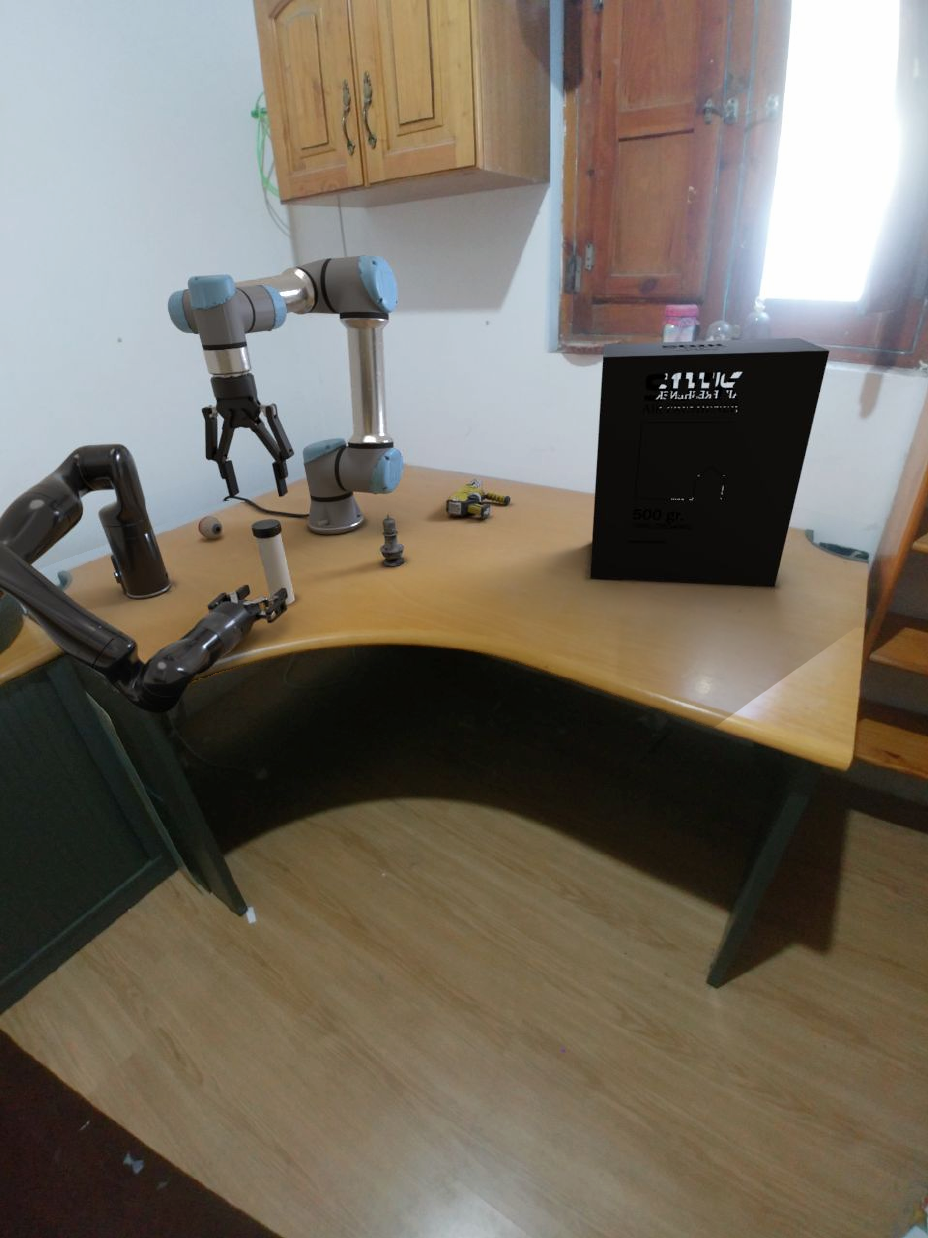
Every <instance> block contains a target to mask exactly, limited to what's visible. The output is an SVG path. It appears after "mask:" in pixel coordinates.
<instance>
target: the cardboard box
mask: <svg viewBox="0 0 928 1238" xmlns="http://www.w3.org/2000/svg"><path fill="white" fill-rule="evenodd" d="M829 356H830V350H829V349H827V348H824V347H822V346H819V345H817V344H815V343H813V342H809V341H808V340H804V339H802V338H799V337H787V338H786V337H785V338H756V339H755V338H753V339H751V338H750V339H724V340H691V341H689V340H688V341H661V342H631V343H604V344H603V353H602V368H601V385H600V386H601V387H600V399H599V400H600V402H599V416H598V417H599V419H598V434H597V436H598V437H597V452H596V467H595V468H596V470H595V487H594V502H593V503H594V504H593V521H592V535H591V536H592V538H591V554H590V569H589V571H590V572H589V578H590V579H600V580H625V581H647V582H665V583H666V582H667V583H668V582H669V583H688V584H689V583H691V584H692V583H693V584H714V585H735V586H755V587H756V586H757V587H759V586H760V587H776V583H777V579H778V575H779V572H780V571H779V570H780V566H781V562H782V557H783V553H784V549H785V545H786V541H787V536H788V532H789V528H790V523H791V519H792V514H793V510H794V506H795V502H796V497H797V493H798V489H799V485H800V480H801V475H802V473H803V472H802V471H803V467H804V464H805V457H806V454H807V449H808V446H809V441H810V437H811V433H812V428H813V425H814V419H815V415H816V411H817V407H818V403H819V398H820V395H821V390H822V385H823V381H824V376H825V373H826V368H827V363H828V360H829ZM735 373H740V374H739V376H738V377H733V375H734V374H735ZM676 374H680V378H678V381H677V387H674V386H675V385H674V384H675V378H673V377H674V375H676ZM687 374H692V378H691V384H694V385H693V387H689V385H690V378H687ZM701 374H703V378H700V376H701ZM718 374H719V378H718ZM722 377H723V382H722ZM717 379H718V383H717ZM722 383H723V384H727V383H729V384H731V383H733V384H732V387H731V386H730V387H726V386H725V387H724V386H723V385H722ZM703 384H708V387H702V385H703ZM662 386H665V387H664V388H663V387H662ZM661 387H662V388H661Z"/></svg>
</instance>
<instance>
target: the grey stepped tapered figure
mask: <svg viewBox="0 0 928 1238" xmlns="http://www.w3.org/2000/svg"><path fill="white" fill-rule="evenodd" d="M382 528H383V529H382V530H383V532H382V536H383V538H384V544H383V545H381V546H380V547H379V551H380V553H381V555H382V557H383V558H384V559H383V560H382V564H383V565H384V566H386V567H396V566H400V565H402V564H404V562H405V558H404V557H402V555H403V553H404V550H405V546H404V544H402V543H400V542H399V541H398V534H399V532H398V531H397V527H396V521H395V519H394V518H393V517H390V515H389V514H386V517H385V518H383V520H382Z"/></svg>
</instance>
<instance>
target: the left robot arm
mask: <svg viewBox="0 0 928 1238" xmlns="http://www.w3.org/2000/svg"><path fill="white" fill-rule="evenodd" d="M98 491H114V494H115V497H116V499H115V501H112V502H111V503H108V504H106V505H104V506H103V507H101V508H100V509H99V510H98V513H97V514H98V518H99V521H100V524H101V527H102V529H103V532H104V535H105V537H106V540H107V542H108V545H109V547H110V550H111V553H112V554H111V555H110V560H111V563H112V566H113V568H114V571H115V572H113V576H114V578H115V581H116V583H117V584H119V585H120V587H121V590H122V592H123V595H127V597H129V598H131V599H137V600H141V599H149V598H153V597H156V596H159V595H161V594H164V593H165V592H167V591H168V590H169V589H171V587H172V582H171V580H170V576H169V573H168V571H167V568H166V565H165V562H164V558H163V556H162V552H161V549H160V546H159V543H158V541H157V538H156V534H155V532H154V528H153V526H152V522H151V520H150V516H149V513H148V510H147V505H146V503H147V502H146V496H145V494H144V490H143V486H142V482H141V480H140V475H139V471H138V467H137V464H136V461H135V459H134V456H133V454H132V453H131V451H130V450H129V448H128V447H127V446H126V445H124V444H121V443H101V444H99V443H97V444H86V445H81V446H79V447H77V448H75V449H74V450H73V451H71V453H70V454H69V455H67V457H66V458H65V459H64V460H63V461H62V462H61V463H60V464H59V466H57V468H55V469H54V470H53V471H52V472H51V473H49V474H48V475H46V476H45V477H44V478H42V479H41V480H40V481H39V482H37V483H36V484H34V485H33V486H31V487H29V488H28V489H27V490H25V491H24V492H23V493H21V494H20V495H19V496H17V497H16V498H15V499H14V500H13V501H12V502H11V503H10V504H9V505H8V506H7V507H6V509H4V511H3V513H2V514H1V516H0V602H1V601H3V599H4V598H5V597H6V595H8V596H10V597H11V598H12V599H14V600H15V601H16V602H17V603H18V604H20V605H21V606H22V607H23V608H24V609H25V610H26V611H27V612H28V613H29V614H30V615H31V617H32V618H33V619H34V620H35V621H36V622H37V624H38V625H39V626H40V627H41V628H42V630H43V631H44V632H45V634H47V636H48V637H49V639H50V640H52V642H53V643H54V644H55V645H56V646H57V647H58V648H60V649H61V650H62V651H63V652H64V653H66V654H67V655H68V656H70V657H72V658H73V659H75V660H77V661H78V662H80V663H82V664H83V665H85V666H87V667H88V668H90V669H92V670H94V671H95V672H97V673H99V674H101V675H102V676H103V677H105V679H106V680H107V681H108V682H109V683H110V684H111V686H113V687H114V688H115V689H116V690H117V691H118V692H119V693H120V694H121V695H122V696H124V697H125V698H126V699H127V701H129V702H130V703H131V704H132V705H134V706H135V707H137V708H139V709H141V710H144V711H146V712H149V713H155V714H157V713H158V714H162V713H166V712H169V711H171V710H173V709H174V708H175V707H176V705H177V704H178V703H179V701H180V699H181V697H182V696H183V694H184V692H185V691H186V689H187V687H188V685H189V684H190V683H191V682H192V680H193V679H194V678H195V677H196V676H198V675H202V674H204V673H206V672H207V671H209V670H210V669H211V668H212V667H213V666H214V665H215V664H216V663H218V661H220V659H221V658H223V657H224V656H225V655H227V654H228V653H230V652H231V651H232V650H233V649H234V648H235V647H236V646H237V645H238V644H240V642H241V641H242V640H244V638H245V637H246V636H248V635H249V633H250V632H251V631H252V629H253V627H254V624H255V623H256V622H258V621H260V620H261V619H262V620H266V622H267V624H272V623H274V622H275V621H277V620H278V619H279V618H280V617H281V616H282V615H284V614H285V612H287V611H288V605H286V599H287V598H288V593H287V590H286V588H281V589H280V590H279V591H278V592H277V593H275V594H274V596H272V597H270V596H269V597H267V598H266V597H265V596H263V597H259V598H256V599H246V598H248V596H250V594H251V588H250V585H249V584H243V585H242V586H241V587H239V588H238V589H236V590H235V591H231V592H230V593H229V594H227V592H221V593H219V595H217V596H216V597H215V598H214V599H213V600H212V601H210V603H208V604H207V605H206V607H207V611H208V613H207V614H206V615H205V616H204V617H202V618H201V619H200V620H198V621H197V623H196V624H195V625H194V626H193V628H191V629H190V630H189V631H188V632H187V633H185V634H184V635H183V636H182V637H180V638H179V639H178V640H177V641H175V642H172V643H170V644H169V645H167V646H164V647H163V648H161V649H159V650H158V651H156V652H155V653H154V654H153V655H152V656H150V657H149V659H148V660H147V661H146V662H144V661H143V660H141V658H140V656H139V646H138V643H137V641H136V640H135V639H134V638H133V637H131V636H130V635H128V634H127V633H125V632H123V631H122V630H121V629H119V628H117V627H115V626H113V625H112V624H110V623H109V622H106V621H105V620H103V619H102V618H100V617H99V616H97V615H96V614H94V613H92V612H91V611H90V610H88V609H86V608H85V607H83V606H82V605H81V604H80V603H78V602H77V601H75V600H74V599H73V598H72V597H70V596H69V595H68V594H67V593H66V592H65V591H63V590H62V589H61V588H60V587H59V586H57V585H56V584H55V583H54V582H52V581H51V580H50V579H49V578H47V577H46V575H44V574H43V573H42V572H40V571H39V570H38V569H37V568H35V567H34V566H33V564H34V563H35V562H37V561H38V560H39V559H40V558H42V556H44V555H45V554H46V553H48V551H49V550H51V548H53V547H54V546H55V545H56V544H57V543H59V541H61V540H62V539H63V538H64V537H66V536H67V535H68V534H69V533H70V532H71V531H72V530H73V529H75V527H76V526H77V525H78V524H79V523H80V521H81V520H82V519H83V516H84V504H83V500H82V499H83V497H85V496H87V495H88V494H90V493H92V492H98ZM272 601H273V604H272ZM270 603H271V605H270ZM261 604H262V607H263V610H262V609H261Z"/></svg>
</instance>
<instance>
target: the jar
mask: <svg viewBox="0 0 928 1238" xmlns="http://www.w3.org/2000/svg"><path fill="white" fill-rule="evenodd" d="M281 533H282V532H281ZM281 533H280V534H278V535H276V536H273V537H269V538H257V537H255V541H256V545H257V548H258V552H259V556H260V561H261V565H262V568H263V573H264V577H265V582H266V586H267V591H268V595H269V597H272V596H274V594H275V593H277V592H278V591H279V590H280V589H281V588H286V590H287V593H288V598H287V599H286V606H288V605H290V604H292V603H294V602H295V600H296V599H295V593H294V588H293V585H292V580H291V575H290V571H289V566H288V562H287V561H288V560H287V557H286V552H285V548H284V543H283V539H282V534H281ZM272 604H273V601H272V602H271V605H272Z"/></svg>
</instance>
